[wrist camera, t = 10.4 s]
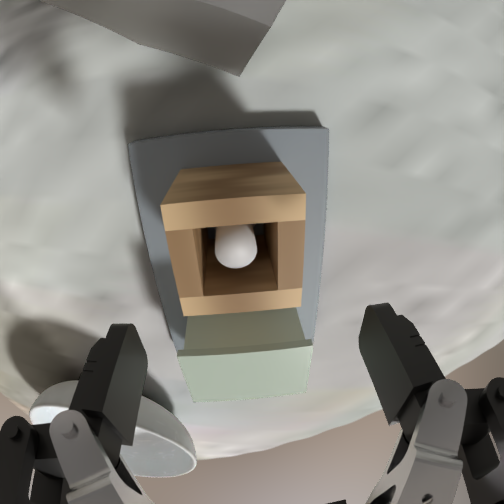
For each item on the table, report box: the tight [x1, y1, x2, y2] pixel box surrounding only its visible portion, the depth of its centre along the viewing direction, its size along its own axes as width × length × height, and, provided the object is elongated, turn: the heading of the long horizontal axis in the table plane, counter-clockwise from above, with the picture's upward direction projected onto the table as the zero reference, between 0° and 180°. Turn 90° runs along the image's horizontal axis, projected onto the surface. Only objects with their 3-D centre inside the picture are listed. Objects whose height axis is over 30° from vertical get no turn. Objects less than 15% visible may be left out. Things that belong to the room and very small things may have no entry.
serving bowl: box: [29, 380, 197, 477], centre depth 28 cm, size 21×21×7 cm
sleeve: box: [160, 162, 306, 316], centre depth 16 cm, size 6×6×6 cm
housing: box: [177, 307, 313, 402], centre depth 21 cm, size 9×6×5 cm, turn 93°
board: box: [128, 126, 329, 353], centre depth 19 cm, size 12×18×6 cm, turn 3°
